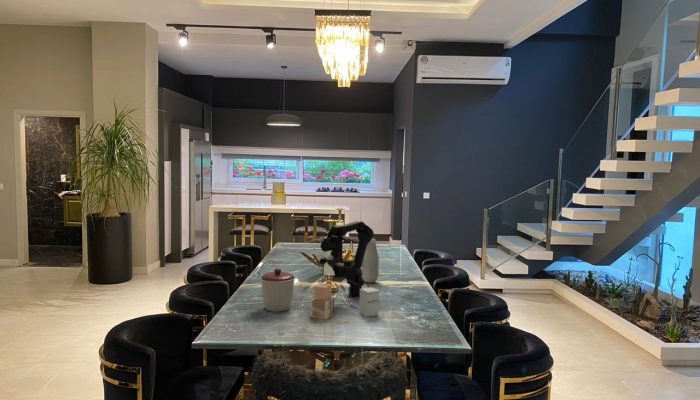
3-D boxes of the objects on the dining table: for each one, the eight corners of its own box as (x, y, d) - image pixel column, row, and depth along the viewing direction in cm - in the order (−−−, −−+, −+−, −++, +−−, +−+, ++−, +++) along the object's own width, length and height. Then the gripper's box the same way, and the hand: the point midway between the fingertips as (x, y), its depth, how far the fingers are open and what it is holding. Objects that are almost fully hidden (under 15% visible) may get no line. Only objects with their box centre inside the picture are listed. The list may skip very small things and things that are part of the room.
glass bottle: (371, 279, 318) (372, 236, 316) (381, 283, 310) (381, 238, 307) (358, 281, 313) (359, 237, 310) (368, 285, 304) (368, 239, 302)
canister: (293, 302, 266) (293, 263, 264) (297, 313, 248) (297, 271, 247) (259, 304, 262) (259, 265, 260) (260, 315, 244) (260, 273, 243)
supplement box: (366, 317, 243) (366, 292, 242) (359, 313, 250) (359, 288, 249) (379, 315, 247) (379, 290, 246) (371, 311, 253) (372, 286, 252)
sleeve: (317, 312, 251) (317, 295, 250) (334, 314, 247) (334, 297, 246) (310, 316, 244) (310, 299, 243) (327, 319, 240) (327, 301, 239)
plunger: (320, 311, 250) (320, 283, 248) (331, 312, 247) (331, 284, 246) (314, 314, 244) (314, 286, 243) (325, 316, 242) (325, 287, 240)
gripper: (314, 250, 264) (314, 279, 265) (346, 253, 256) (346, 283, 257) (324, 246, 274) (324, 274, 275) (355, 249, 266) (355, 278, 267)
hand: (336, 277), depth 269 cm, fingers closed
